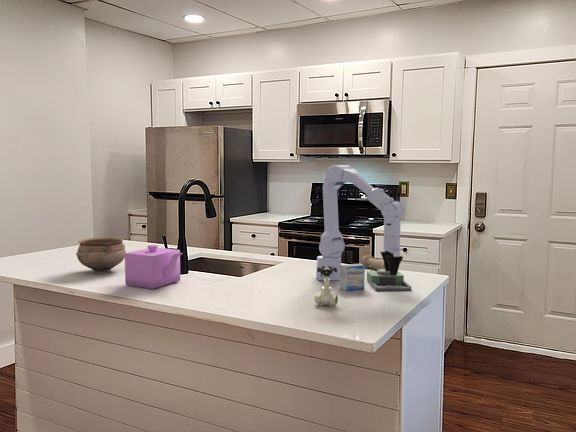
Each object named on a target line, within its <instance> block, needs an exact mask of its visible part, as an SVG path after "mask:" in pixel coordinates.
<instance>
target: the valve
mask: <svg viewBox="0 0 576 432" xmlns="http://www.w3.org/2000/svg"><path fill="white" fill-rule="evenodd" d="M316 271H317V272H320V273H321V274H323V275H324V276H325V279H324V280H323V284H324V285H323V286H322V287H321V291H322V292H320V291H316V293H315V294H314V302H315V304H318V305H323V306H324V307H328V306H334V307H336V306H337V305H338V302H339V295H338V294H337V293H331V292H332V287H331V286H330V283H331V280H329V279H328V277H329V276H330V274H332V273H333V271H335V272H337V268H336V267H331V266H328V267H325V266H321V267H317V266H316Z"/></svg>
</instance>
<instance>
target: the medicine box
mask: <svg viewBox="0 0 576 432" xmlns="http://www.w3.org/2000/svg"><path fill="white" fill-rule="evenodd" d="M365 272H366V267H365V266H364V265H362V264H361V263H351V264H348V263H347V264H341V265H340V280H339V289H341V290H343V291H346V292H349V291H358V290H359V291H360V290H364V289H365V283H366V282H365V278H366V277H365V276H366V275H365Z"/></svg>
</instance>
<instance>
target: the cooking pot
mask: <svg viewBox="0 0 576 432" xmlns="http://www.w3.org/2000/svg"><path fill="white" fill-rule="evenodd" d="M123 241H124V238H122V237H114V236H113V237H111V236H110V237H107V236H106V237H92V238H91V237H90V238H84V239H81V240H78V243H79V246H78V248H77V251H76V253H75V255H76V257H77V260H78V262H79V263H80V264H81V265H82V266H84V267H86V268H88V269H90V270H93V271H94V272H107V271H111V270H112V269H113V268H115V267H117V266H119V264H121V263H122V262H124V260H125V253H127V252H126V249H125V248H126V245H125V244H124V243H123Z"/></svg>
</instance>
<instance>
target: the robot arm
mask: <svg viewBox="0 0 576 432" xmlns="http://www.w3.org/2000/svg"><path fill="white" fill-rule="evenodd" d="M346 183H349V184H352V185H354V186H355V188H356V187H357V188H358V189H359V190H360V191H362V192H363V193H364V194H366V195H367V199H368V201H369V203H371V204H372V205H374V206H375V207H376V208H377V209H378V210H380V212H381V215H382V216H383V221H384V222H383V247H382V250H383V251H380V255H381V257H382V260H383V261H382V262H384V266H385V271H390V275H391V276H396V275H397V272H399V268H400V265H401V263H402V260H403V259H404V256H402V255H401V251H404V248H403V247H401V221H402V220H401V217H402V216H403V214H404V210H405V209H404V206H403V204H402V203H401V202H400V201H399V200H395V199H394V198H393V197H390V196H389V195H388V194H386V193H385V189H383V188H379V187H375V188H374V186H372V184H370V183H369V182H368V181H367V180H366V179H364V177H363V176H362V175H361V174H360V173H359V172H358V171H357V170H356V169H355V168H353V167H352V166H351V165H348V164H345V165H337V164H334V165H331V166H329V168H328V169H326V170H325V178H324V181H323V184H322V201H323V205H322V206H323V225H324V231H323V233H322V234H321V235H320V242H319V244H318V245H319V246H318V249H319V252H320V254H321V255H318V256H317V257H316V268H317V267H321V266H325V267H328V266H331V267H336V268H337V272H335V271H333V273H332V274H330V276H329V277H328V279H329V280H330V281H340V265H342V255H343V252H344V251H345V248H346V247H345V246H346V244H345V241H344V238H343V234H342V233H341V231H340V230H339V225H340V223H339V205H338V202H339V201H338V190H339V189H340V188H341V187H342V186H343V185H345V184H346ZM315 273H316V274H315V275H316V278H317V280H318V281H324V279H325V276H324V275H323V274H321V273H320V272H317V270H316V272H315Z"/></svg>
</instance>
